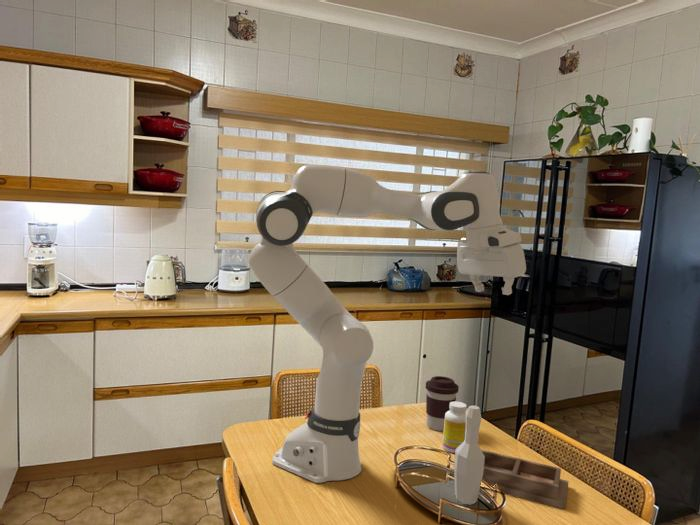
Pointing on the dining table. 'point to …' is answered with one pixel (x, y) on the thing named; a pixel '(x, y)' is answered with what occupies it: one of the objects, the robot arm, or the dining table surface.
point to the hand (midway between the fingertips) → (493, 292)
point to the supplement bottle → (454, 426)
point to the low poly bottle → (469, 459)
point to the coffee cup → (439, 400)
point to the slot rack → (526, 479)
